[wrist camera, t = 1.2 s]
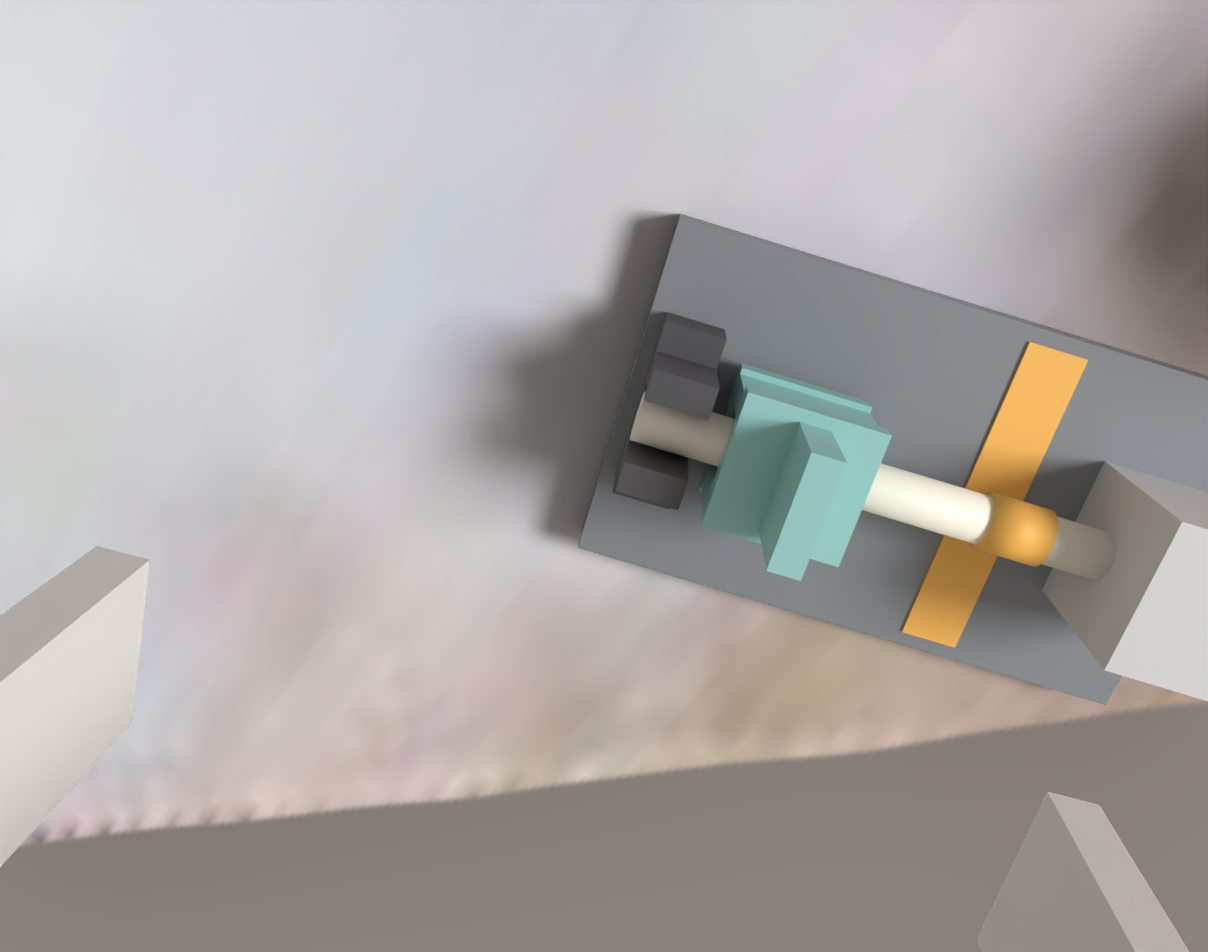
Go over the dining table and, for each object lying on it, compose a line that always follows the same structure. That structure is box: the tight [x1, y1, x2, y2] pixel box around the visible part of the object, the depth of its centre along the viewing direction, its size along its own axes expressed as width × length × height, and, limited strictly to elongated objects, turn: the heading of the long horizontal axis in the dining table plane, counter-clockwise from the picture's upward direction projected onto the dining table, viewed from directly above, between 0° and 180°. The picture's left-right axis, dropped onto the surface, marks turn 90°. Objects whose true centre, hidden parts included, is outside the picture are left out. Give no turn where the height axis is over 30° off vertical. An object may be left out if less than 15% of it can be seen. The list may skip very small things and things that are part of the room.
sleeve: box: [699, 363, 892, 581], centre depth 31 cm, size 4×4×7 cm
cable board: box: [578, 214, 1208, 705], centre depth 33 cm, size 12×20×7 cm, turn 74°
